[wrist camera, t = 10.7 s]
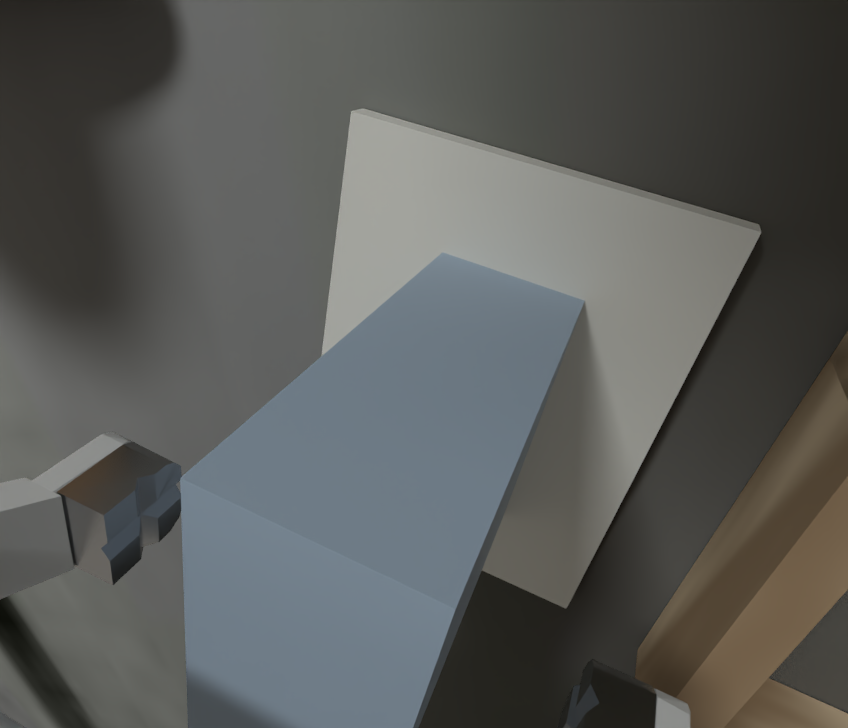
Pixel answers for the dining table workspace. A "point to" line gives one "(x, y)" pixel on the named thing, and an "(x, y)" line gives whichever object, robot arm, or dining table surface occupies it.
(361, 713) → the blue grey block
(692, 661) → the wooden tray
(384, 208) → the mat
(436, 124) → the dining table surface
